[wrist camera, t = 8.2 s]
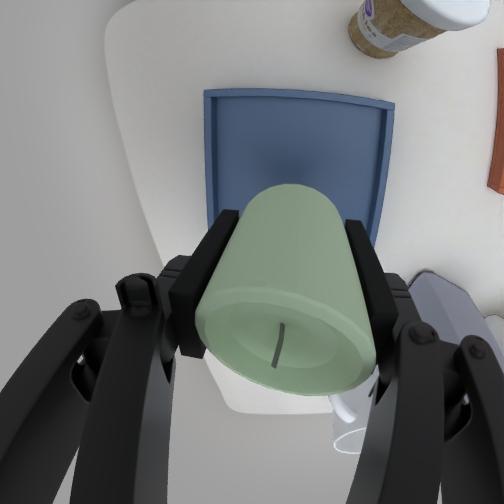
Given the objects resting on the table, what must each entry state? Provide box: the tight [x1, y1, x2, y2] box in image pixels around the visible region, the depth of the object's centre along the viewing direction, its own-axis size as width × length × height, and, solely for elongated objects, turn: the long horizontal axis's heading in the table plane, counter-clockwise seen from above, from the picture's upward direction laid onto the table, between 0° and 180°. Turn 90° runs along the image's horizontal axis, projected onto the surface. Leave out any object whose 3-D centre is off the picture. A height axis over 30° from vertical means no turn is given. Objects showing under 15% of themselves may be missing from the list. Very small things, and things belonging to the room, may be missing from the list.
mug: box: [328, 364, 379, 454], centre depth 29 cm, size 12×8×10 cm
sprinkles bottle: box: [349, 0, 490, 58], centre depth 10 cm, size 5×5×13 cm
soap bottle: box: [408, 273, 504, 403], centre depth 17 cm, size 9×9×25 cm
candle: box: [195, 184, 376, 396], centre depth 10 cm, size 5×5×8 cm
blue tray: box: [204, 89, 395, 248], centre depth 22 cm, size 14×14×2 cm
